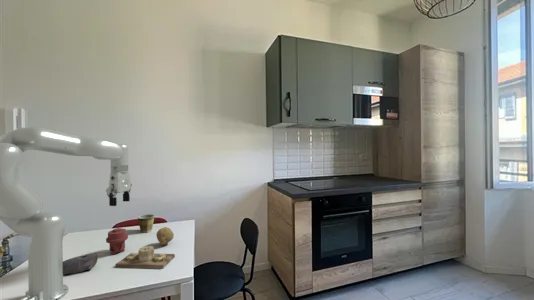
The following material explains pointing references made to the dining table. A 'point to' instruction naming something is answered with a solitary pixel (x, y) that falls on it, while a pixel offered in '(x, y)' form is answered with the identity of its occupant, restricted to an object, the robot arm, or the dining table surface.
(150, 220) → the ceramic cup
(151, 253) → the birch gear
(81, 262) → the perforated stone tool
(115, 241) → the mechanical component
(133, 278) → the dining table surface
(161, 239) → the natural sponge
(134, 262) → the gear board
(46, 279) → the robot arm
